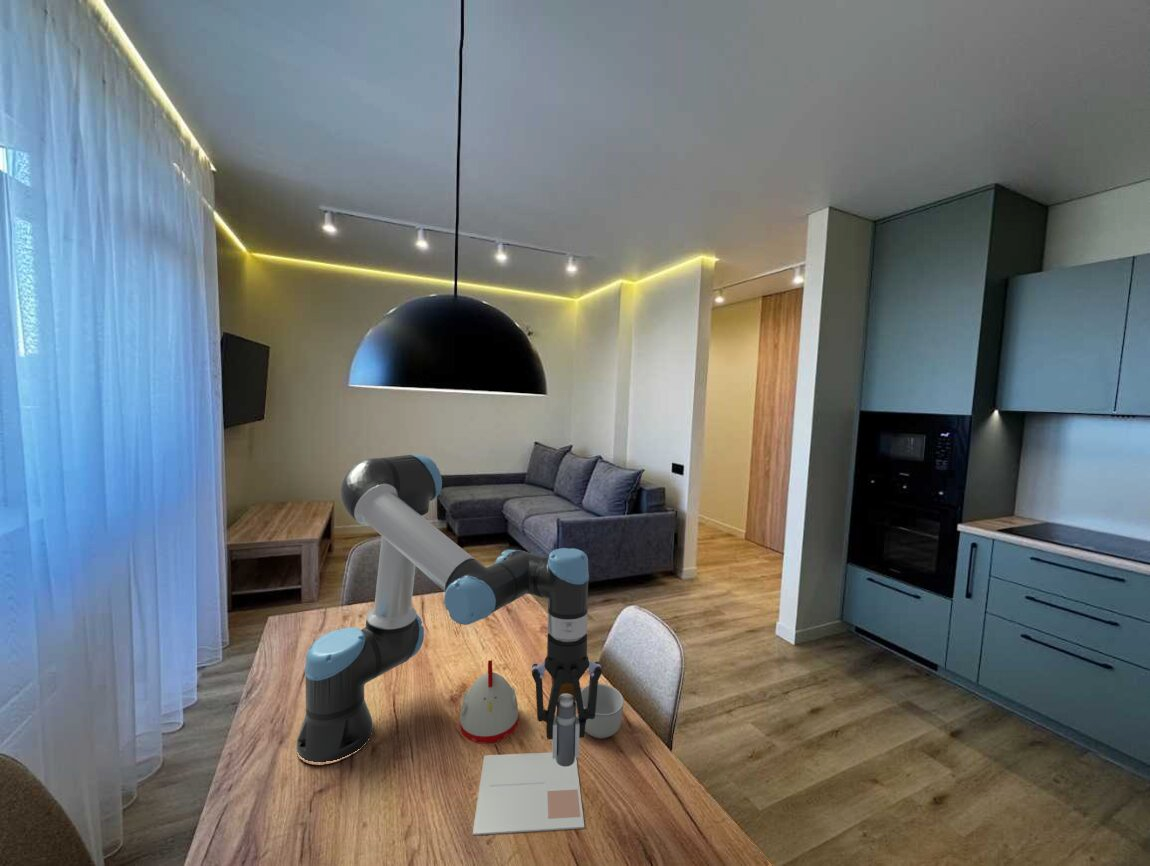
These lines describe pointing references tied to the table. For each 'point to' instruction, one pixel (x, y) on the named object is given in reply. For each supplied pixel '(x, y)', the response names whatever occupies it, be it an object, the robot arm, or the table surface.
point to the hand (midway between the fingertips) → (565, 752)
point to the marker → (566, 729)
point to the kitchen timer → (489, 709)
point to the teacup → (604, 711)
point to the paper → (527, 795)
